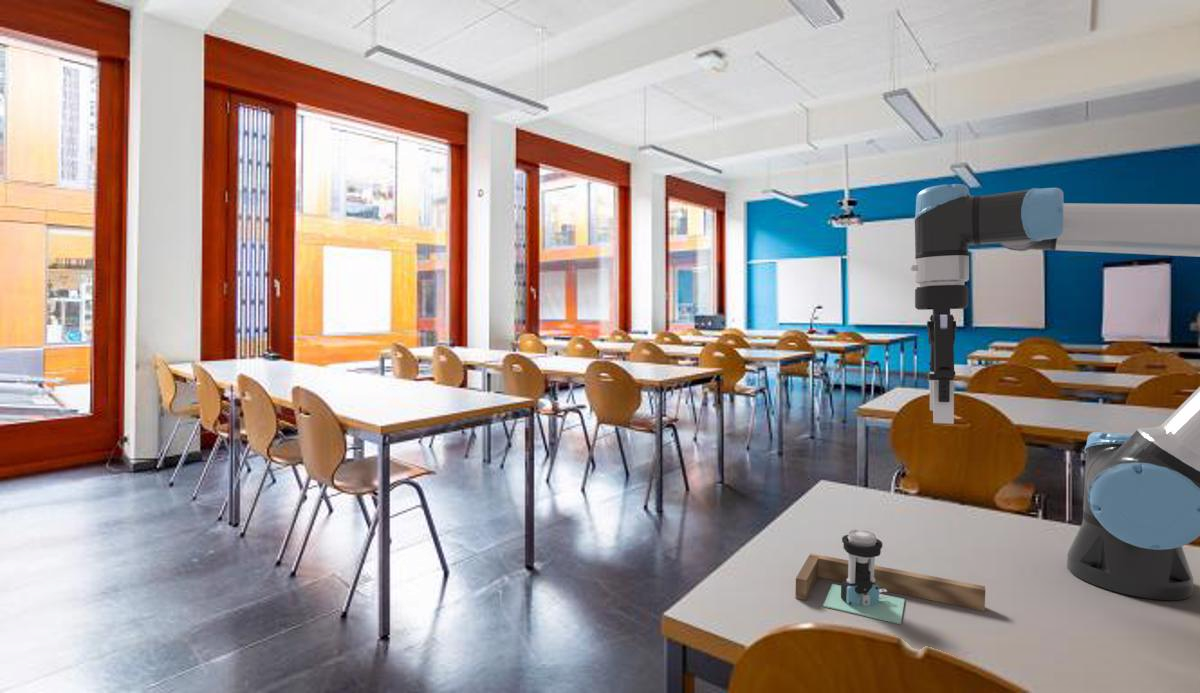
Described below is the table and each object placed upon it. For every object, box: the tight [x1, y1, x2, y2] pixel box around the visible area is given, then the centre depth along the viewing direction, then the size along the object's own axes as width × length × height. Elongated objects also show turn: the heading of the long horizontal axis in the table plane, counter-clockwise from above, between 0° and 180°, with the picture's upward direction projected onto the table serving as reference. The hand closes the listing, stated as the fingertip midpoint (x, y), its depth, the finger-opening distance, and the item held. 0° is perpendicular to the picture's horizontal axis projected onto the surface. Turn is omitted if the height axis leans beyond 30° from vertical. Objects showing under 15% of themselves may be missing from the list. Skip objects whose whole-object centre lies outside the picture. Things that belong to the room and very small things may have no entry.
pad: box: [822, 583, 906, 625], centre depth 90 cm, size 10×8×1 cm
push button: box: [840, 529, 888, 606], centre depth 89 cm, size 7×5×10 cm
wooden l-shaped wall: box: [794, 553, 986, 612], centre depth 90 cm, size 24×11×3 cm, turn 61°
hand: (940, 416), depth 101 cm, fingers open, 13 cm apart
